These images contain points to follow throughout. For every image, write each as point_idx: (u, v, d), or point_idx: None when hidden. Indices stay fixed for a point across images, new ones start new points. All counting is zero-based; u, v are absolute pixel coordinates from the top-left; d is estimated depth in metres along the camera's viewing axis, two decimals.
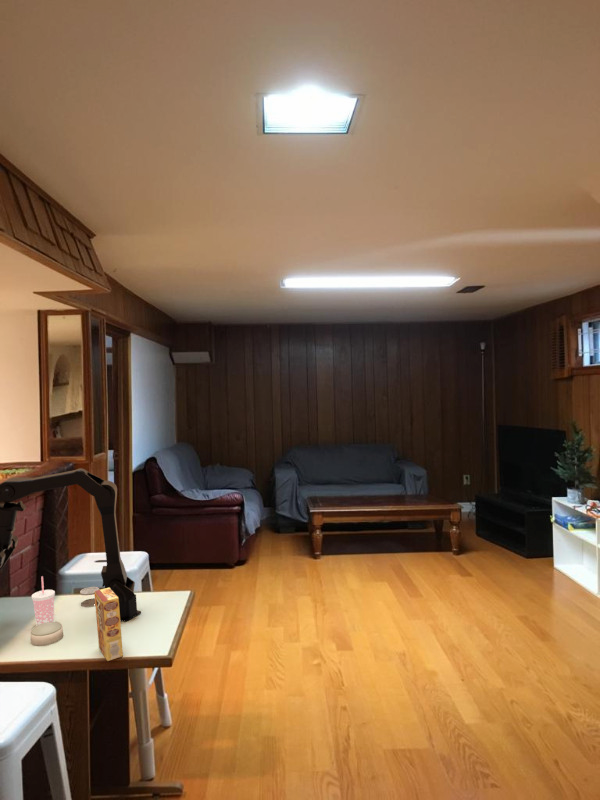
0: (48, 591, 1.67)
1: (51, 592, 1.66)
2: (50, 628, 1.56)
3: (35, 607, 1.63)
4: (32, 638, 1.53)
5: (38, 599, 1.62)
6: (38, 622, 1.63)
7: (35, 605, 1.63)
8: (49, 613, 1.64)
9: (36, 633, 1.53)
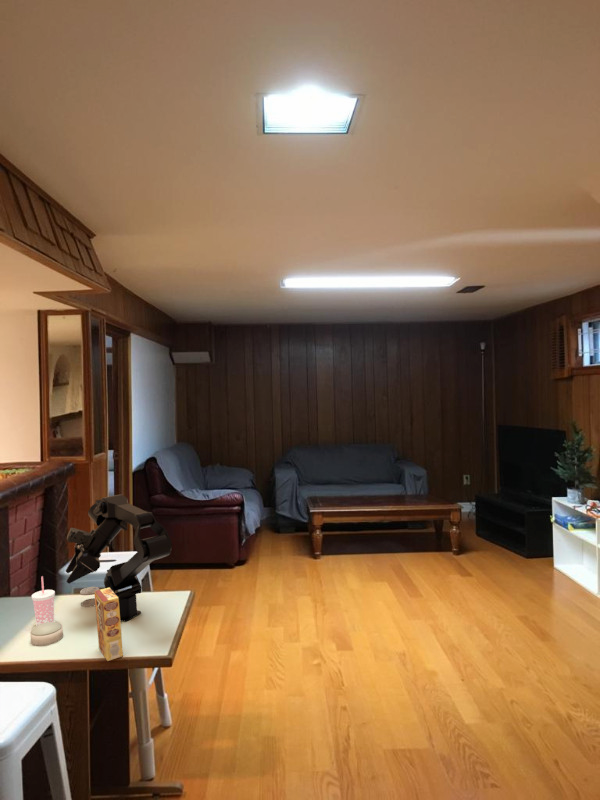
0: (48, 591, 1.67)
1: (51, 592, 1.66)
2: (50, 628, 1.56)
3: (35, 607, 1.63)
4: (32, 638, 1.53)
5: (38, 599, 1.62)
6: (38, 622, 1.63)
7: (35, 605, 1.63)
8: (49, 613, 1.64)
9: (36, 633, 1.53)
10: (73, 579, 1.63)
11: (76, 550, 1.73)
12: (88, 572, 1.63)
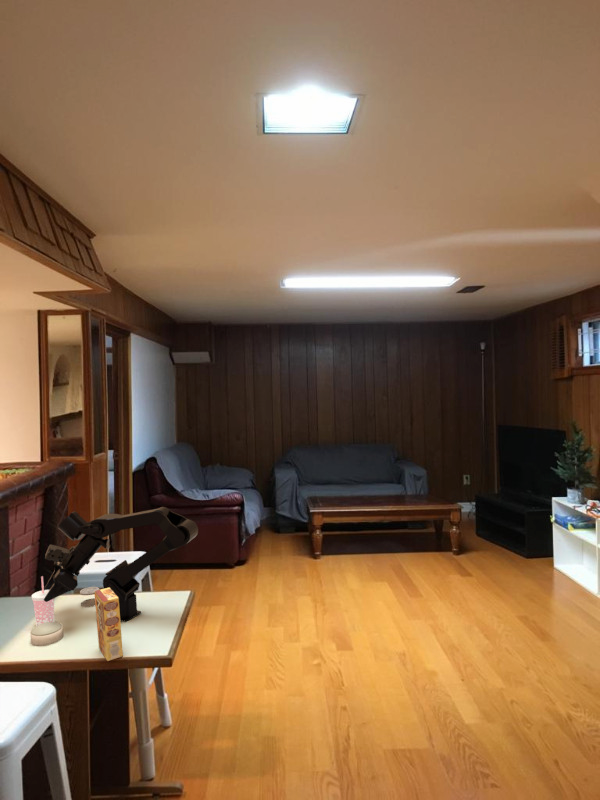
0: (48, 591, 1.67)
1: None
2: (50, 628, 1.56)
3: (35, 607, 1.63)
4: (32, 638, 1.53)
5: (38, 599, 1.62)
6: (38, 622, 1.63)
7: (35, 605, 1.63)
8: (49, 613, 1.64)
9: (36, 633, 1.53)
10: (50, 597, 1.61)
11: (56, 567, 1.71)
12: (66, 591, 1.61)
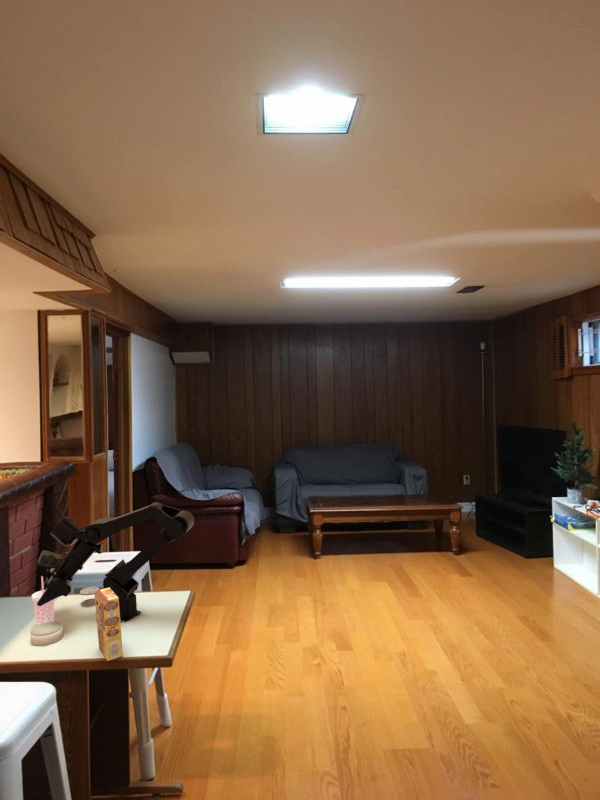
0: None
1: None
2: (50, 628, 1.56)
3: (35, 607, 1.63)
4: (32, 638, 1.53)
5: (38, 599, 1.62)
6: (38, 622, 1.63)
7: (35, 605, 1.63)
8: (49, 613, 1.64)
9: (36, 633, 1.53)
10: (44, 602, 1.61)
11: (48, 574, 1.69)
12: (59, 595, 1.62)
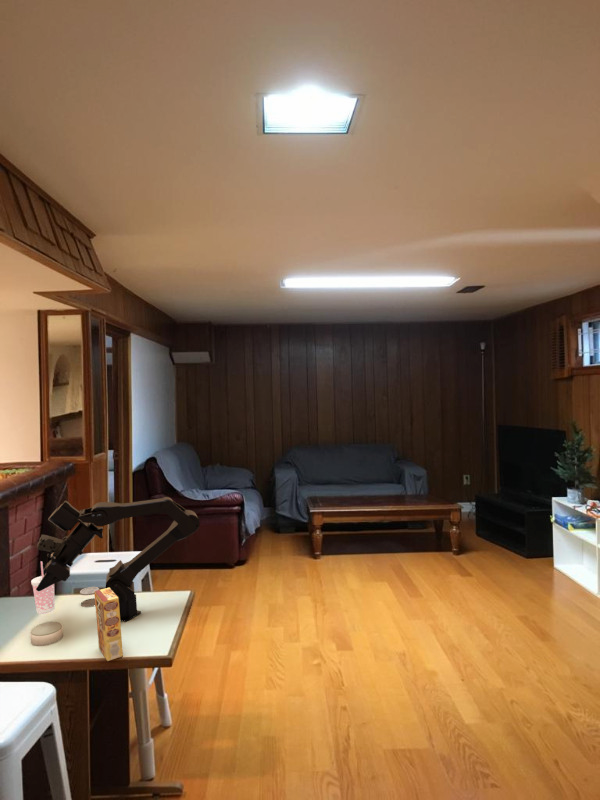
0: None
1: None
2: (50, 628, 1.56)
3: (35, 592, 1.59)
4: (32, 638, 1.53)
5: (37, 584, 1.58)
6: (38, 608, 1.59)
7: (35, 591, 1.59)
8: (49, 598, 1.60)
9: (36, 633, 1.53)
10: (43, 587, 1.57)
11: (49, 559, 1.65)
12: (58, 580, 1.57)
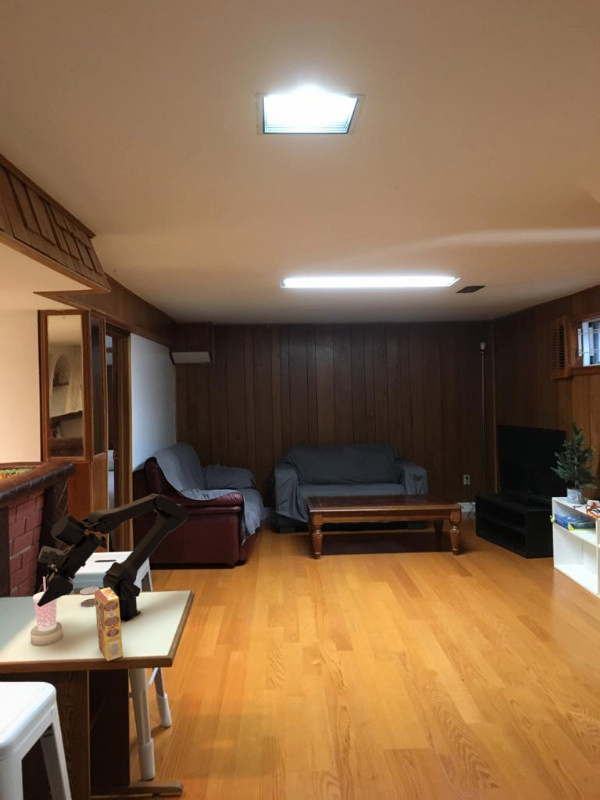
0: None
1: None
2: None
3: (36, 609, 1.54)
4: (32, 638, 1.53)
5: None
6: (39, 625, 1.54)
7: (37, 607, 1.54)
8: (51, 615, 1.55)
9: (36, 633, 1.53)
10: (44, 602, 1.51)
11: (49, 570, 1.60)
12: (60, 595, 1.51)
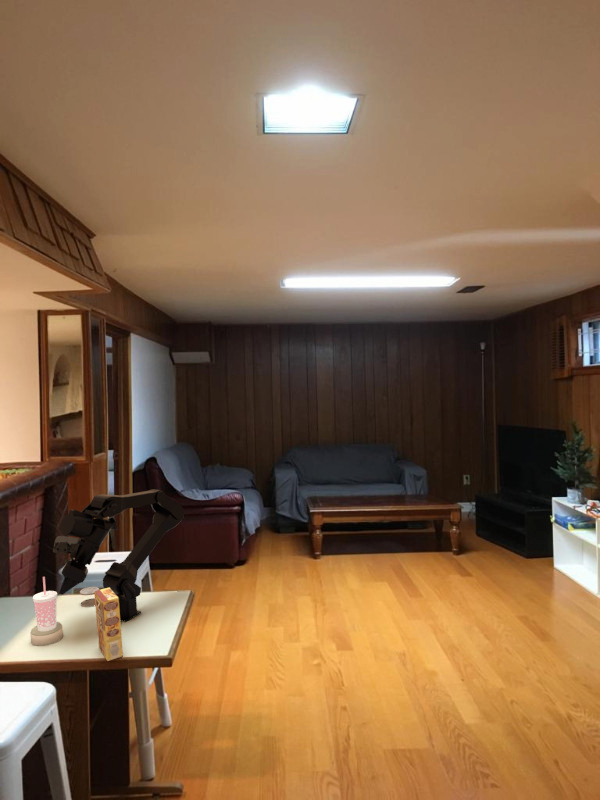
0: (50, 592, 1.58)
1: (53, 593, 1.57)
2: None
3: (36, 609, 1.54)
4: (32, 638, 1.53)
5: (39, 601, 1.53)
6: (39, 625, 1.54)
7: (37, 607, 1.54)
8: (51, 615, 1.55)
9: (36, 633, 1.53)
10: (65, 590, 1.56)
11: None
12: (77, 582, 1.55)
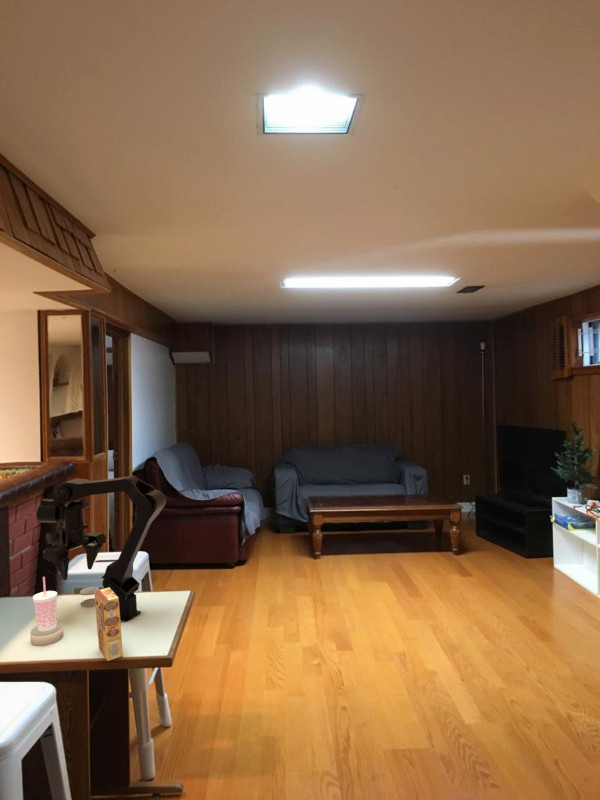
0: (50, 592, 1.58)
1: (53, 593, 1.57)
2: None
3: (36, 609, 1.54)
4: (32, 638, 1.53)
5: (39, 601, 1.53)
6: (39, 625, 1.54)
7: (37, 607, 1.54)
8: (51, 615, 1.55)
9: (36, 633, 1.53)
10: (64, 575, 1.66)
11: (84, 547, 1.76)
12: (63, 563, 1.64)
